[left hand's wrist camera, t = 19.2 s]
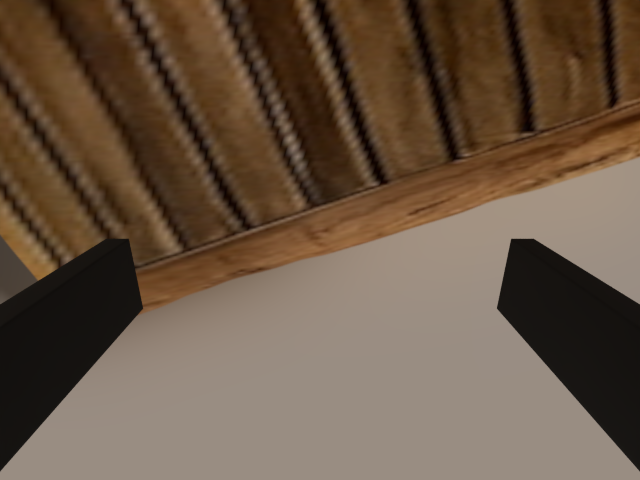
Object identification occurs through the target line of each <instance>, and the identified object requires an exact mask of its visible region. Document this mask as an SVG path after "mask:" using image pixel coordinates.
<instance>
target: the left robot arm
mask: <svg viewBox="0 0 640 480" xmlns="http://www.w3.org/2000/svg"><path fill="white" fill-rule="evenodd" d="M142 309H143V306H142V301H141V296H140V291H139V286H138V281H137V277H136V272H135V267H134V262H133V257H132V252H131V248H130V243H129V239H105V240H104V241H102V242H101V243H99V244H97V245H96V246H94V247H92V248H91V249H89V250H88V251H86V252H84V253H83V254H81V255H79V256H78V257H76V258H75V259H73V260H71V261H70V262H68V263H67V264H65V265H63V266H62V267H60V268H58V269H57V270H55V271H54V272H52V273H50V274H49V275H47V276H46V277H44V278H42V279H41V280H39V281H37V282H36V283H34V284H33V285H31V286H29V287H28V288H26V289H25V290H23V291H21V292H20V293H18V294H16V295H15V296H13V297H12V298H10V299H8V300H7V301H5V302H4V303H2V304H0V471H1V470H2V469H3V468H4V466H5V465H6V464H7V463H8V462H9V461H10V460H11V458H12V457H13V456H14V455H15V454H16V453H17V452H18V450H19V449H20V448H21V447H22V446H23V445H24V444H25V442H26V441H27V440H28V439H29V438H30V437H31V436H32V434H33V433H34V432H35V431H36V430H37V429H38V428H39V426H40V425H41V424H42V423H43V422H44V421H45V420H46V419H47V417H48V416H49V415H50V414H51V413H52V412H53V411H54V409H55V408H56V407H57V406H58V405H59V404H60V403H61V401H62V400H63V399H64V398H65V397H66V396H67V395H68V393H69V392H70V391H71V390H72V389H73V388H74V387H75V385H76V384H77V383H78V382H79V381H80V380H81V379H82V377H83V376H84V375H85V374H86V373H87V372H88V371H89V369H90V368H91V367H92V366H93V365H94V364H95V363H96V361H97V360H98V359H99V358H100V357H101V356H102V355H103V354H104V352H105V351H106V350H107V349H108V348H109V347H110V346H111V344H112V343H113V342H114V341H115V340H116V339H117V338H118V336H119V335H120V334H121V333H122V332H123V331H124V330H125V328H126V327H127V326H128V325H129V324H130V323H131V322H132V320H133V319H134V318H135V317H136V316H137V315H138V314H139V313H140V311H141V310H142ZM497 309H498V310H499V311H500V312H501V314H502V315H503V316H504V317H505V318H506V319H507V320H508V322H509V323H510V324H511V325H512V326H513V327H514V328H515V330H516V331H517V332H518V333H519V334H520V335H521V336H522V338H523V339H524V340H525V341H526V342H527V343H528V344H529V346H530V347H531V348H532V349H533V350H534V351H535V352H536V354H537V355H538V356H539V357H540V358H541V359H542V360H543V362H544V363H545V364H546V365H547V366H548V367H549V368H550V370H551V371H552V372H553V373H554V374H555V375H556V376H557V377H558V379H559V380H560V381H561V382H562V383H563V384H564V385H565V387H566V388H567V389H568V390H569V391H570V392H571V393H572V395H573V396H574V397H575V398H576V399H577V400H578V401H579V403H580V404H581V405H582V406H583V407H584V408H585V409H586V411H587V412H588V413H589V414H590V415H591V416H592V417H593V419H594V420H595V421H596V422H597V423H598V424H599V425H600V426H601V428H602V429H603V430H604V431H605V432H606V433H607V434H608V436H609V437H610V438H611V439H612V440H613V441H614V442H615V444H616V445H617V446H618V447H619V448H620V449H621V450H622V452H623V453H624V454H625V455H626V456H627V457H628V458H629V460H630V461H631V462H632V463H633V464H634V465H635V466H636V467H637V469H638V470H639V471H640V304H638V303H637V302H635V301H633V300H632V299H630V298H628V297H627V296H625V295H624V294H622V293H620V292H619V291H617V290H615V289H614V288H612V287H611V286H609V285H607V284H606V283H604V282H603V281H601V280H599V279H598V278H596V277H594V276H593V275H591V274H590V273H588V272H586V271H585V270H583V269H582V268H580V267H578V266H577V265H575V264H573V263H572V262H570V261H569V260H567V259H565V258H564V257H562V256H561V255H559V254H557V253H556V252H554V251H552V250H551V249H549V248H547V247H546V246H544V245H543V244H541V243H539V242H538V241H536V240H535V239H511V243H510V248H509V252H508V257H507V262H506V267H505V272H504V277H503V281H502V286H501V291H500V296H499V301H498V306H497Z"/></svg>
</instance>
